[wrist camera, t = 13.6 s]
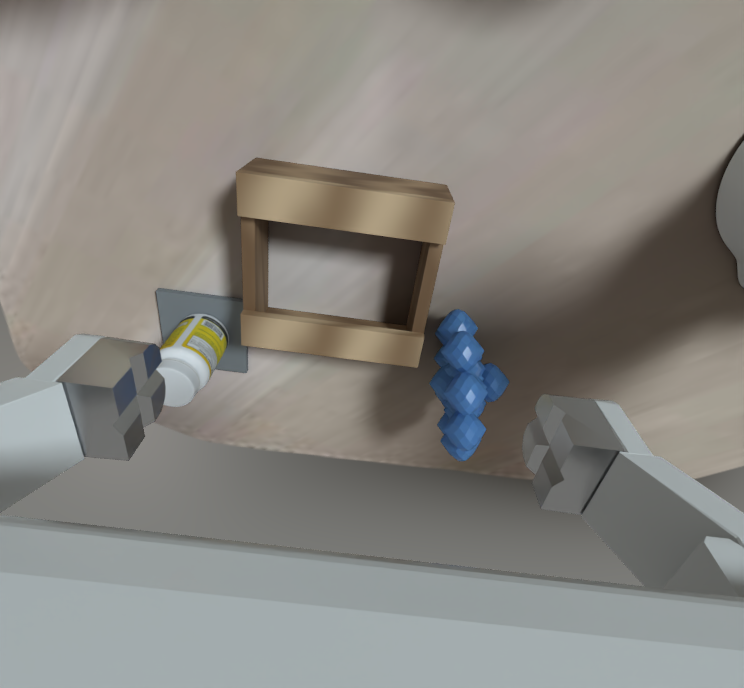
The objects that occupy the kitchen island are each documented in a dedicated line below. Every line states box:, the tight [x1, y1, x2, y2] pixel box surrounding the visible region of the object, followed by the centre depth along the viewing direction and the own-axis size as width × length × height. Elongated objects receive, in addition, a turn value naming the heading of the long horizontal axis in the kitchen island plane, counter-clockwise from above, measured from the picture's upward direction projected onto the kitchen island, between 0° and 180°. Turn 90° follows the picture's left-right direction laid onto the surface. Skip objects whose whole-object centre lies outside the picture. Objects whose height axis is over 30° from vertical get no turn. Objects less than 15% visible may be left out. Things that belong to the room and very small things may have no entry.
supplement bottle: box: [156, 314, 229, 407], centre depth 39 cm, size 5×5×8 cm
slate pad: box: [156, 288, 248, 373], centre depth 43 cm, size 8×8×1 cm
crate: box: [236, 158, 455, 368], centre depth 37 cm, size 15×14×5 cm
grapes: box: [429, 309, 509, 461], centre depth 38 cm, size 12×7×12 cm, turn 3°
